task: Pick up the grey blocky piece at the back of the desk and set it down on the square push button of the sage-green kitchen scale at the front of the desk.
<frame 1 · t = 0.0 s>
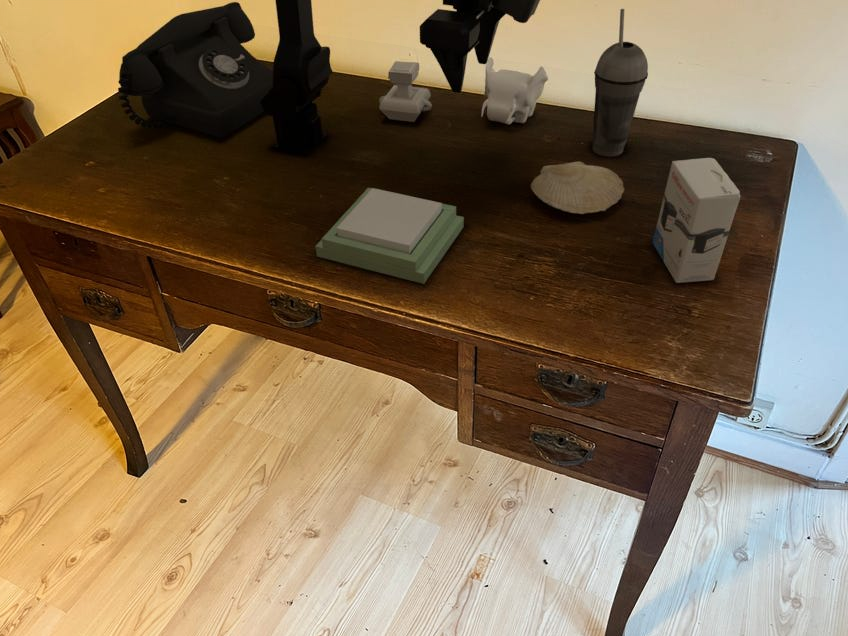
hand: (470, 77, 96), 15 cm above the table, tool pointing down, fingers open, 9 cm apart
rotary telephone: (215, 114, 124), on the table
scale: (391, 241, 95), on the table
square push button: (390, 220, 93), point 3 cm above the table, slide at 0.0 cm
ink box: (681, 262, 90), on the table
elephant figurine: (508, 120, 118), on the table
seashell: (573, 199, 101), on the table
grey blocky piece: (405, 117, 120), on the table
beverage cup: (607, 150, 110), on the table
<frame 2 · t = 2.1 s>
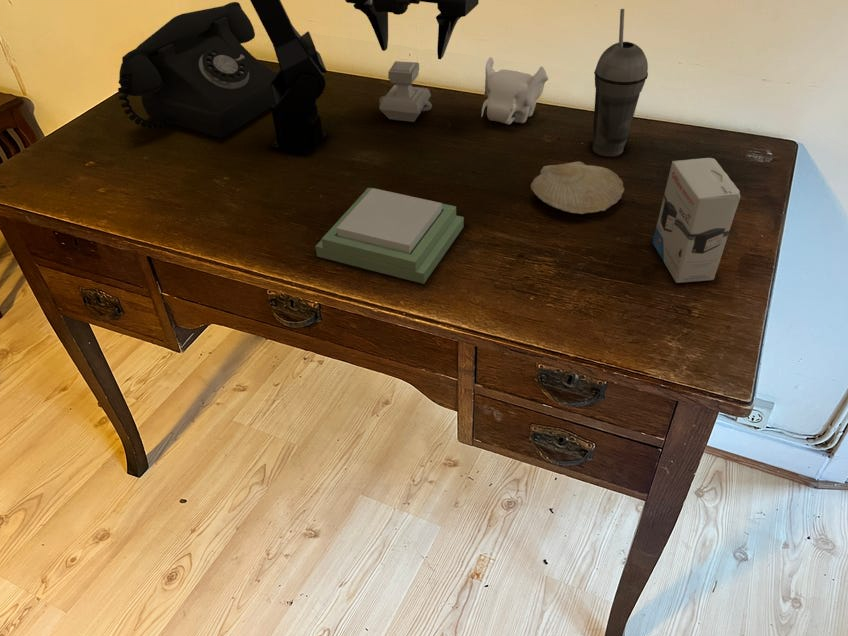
hand: (412, 54, 110), 11 cm above the table, tool pointing down, fingers open, 9 cm apart
nothing on the table moved.
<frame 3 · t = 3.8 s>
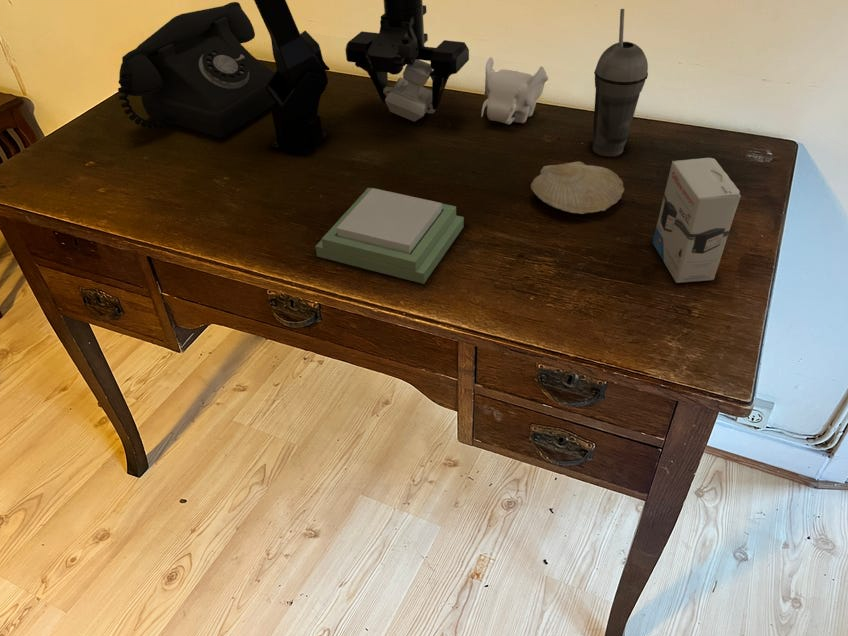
hand: (409, 105, 119), 2 cm above the table, tool pointing down, fingers closed on grey blocky piece, 9 cm apart
grey blocky piece: (405, 113, 120), point 1 cm above the table, touching gripper
everything else where it was.
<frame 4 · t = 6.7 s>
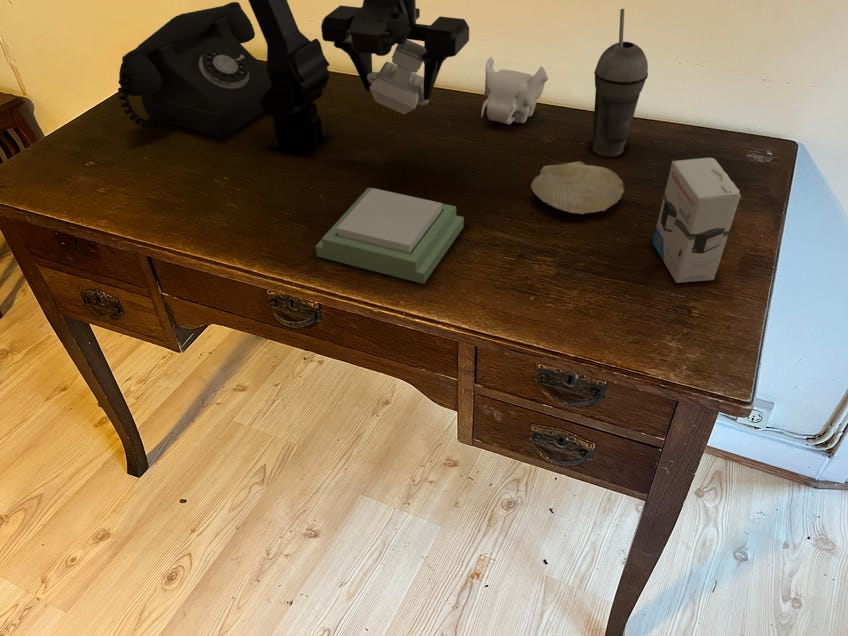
hand: (397, 94, 100), 11 cm above the table, tool pointing down, fingers closed on grey blocky piece, 8 cm apart
grey blocky piece: (392, 104, 102), point 10 cm above the table, touching gripper
everything else where it was.
when the fingers open (6 cm above the table, at t = 9.8 s): grey blocky piece stays where it is, resting on square push button.
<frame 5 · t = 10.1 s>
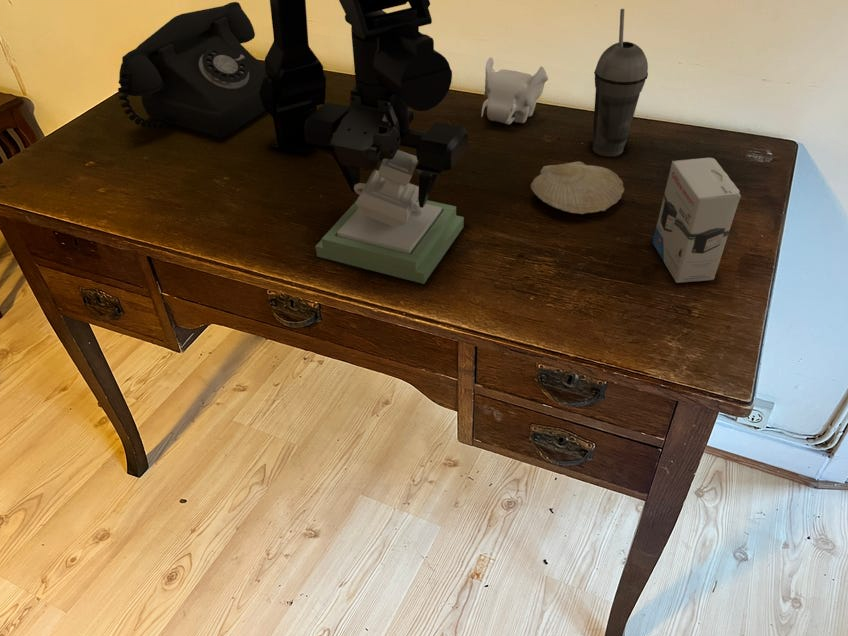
hand: (388, 198, 91), 6 cm above the table, tool pointing down, fingers open, 9 cm apart
square push button: (390, 224, 93), point 3 cm above the table, slide at -0.7 cm, touching grey blocky piece
grey blocky piece: (383, 215, 93), point 4 cm above the table, touching gripper, square push button
everything else where it was.
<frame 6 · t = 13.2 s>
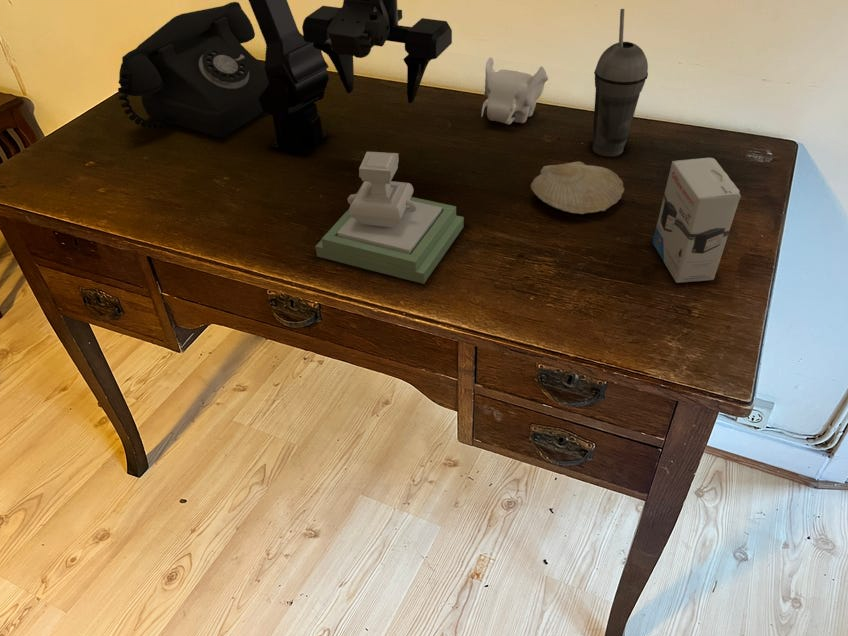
hand: (380, 96, 99), 12 cm above the table, tool pointing down, fingers open, 9 cm apart
grey blocky piece: (382, 220, 93), point 3 cm above the table, touching square push button
everything else where it was.
at the end: grey blocky piece inside the target area on the scale (0.9 cm from its centre), point 3.2 cm above the scale's base; grey blocky piece tilted 0°; the gripper is holding nothing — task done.
